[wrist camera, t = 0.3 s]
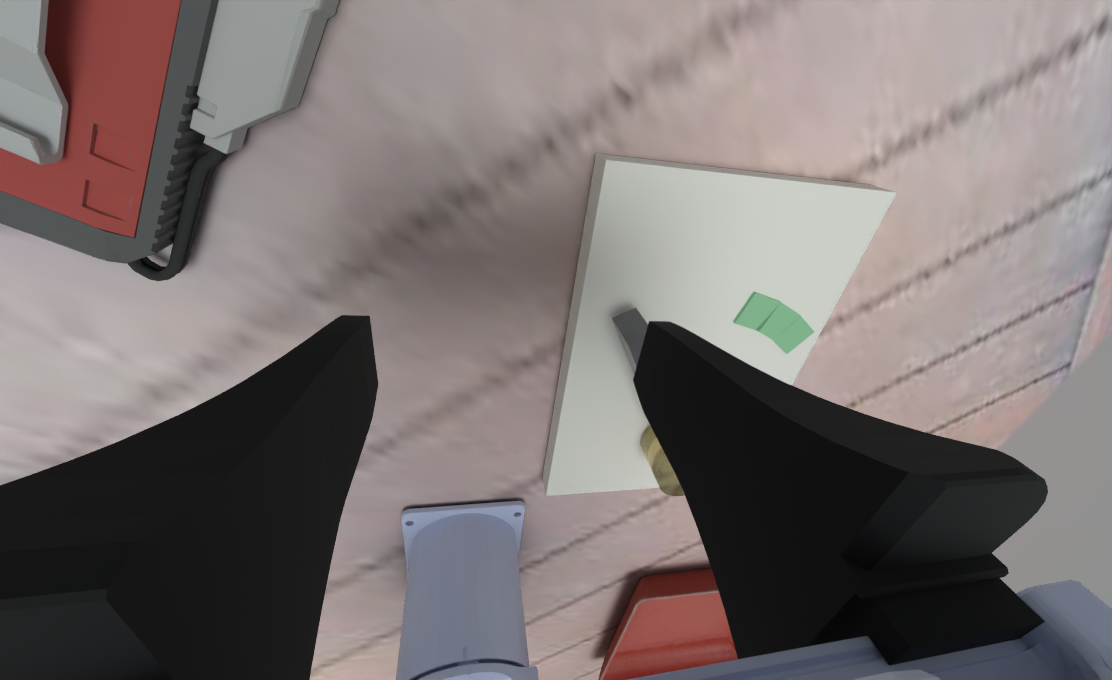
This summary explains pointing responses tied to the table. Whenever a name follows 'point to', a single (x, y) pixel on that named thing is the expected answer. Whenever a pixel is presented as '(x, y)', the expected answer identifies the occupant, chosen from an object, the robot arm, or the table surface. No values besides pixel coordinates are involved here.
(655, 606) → the plant saucer
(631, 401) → the dial board
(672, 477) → the dial lever
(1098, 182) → the table surface
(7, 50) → the walkie-talkie
